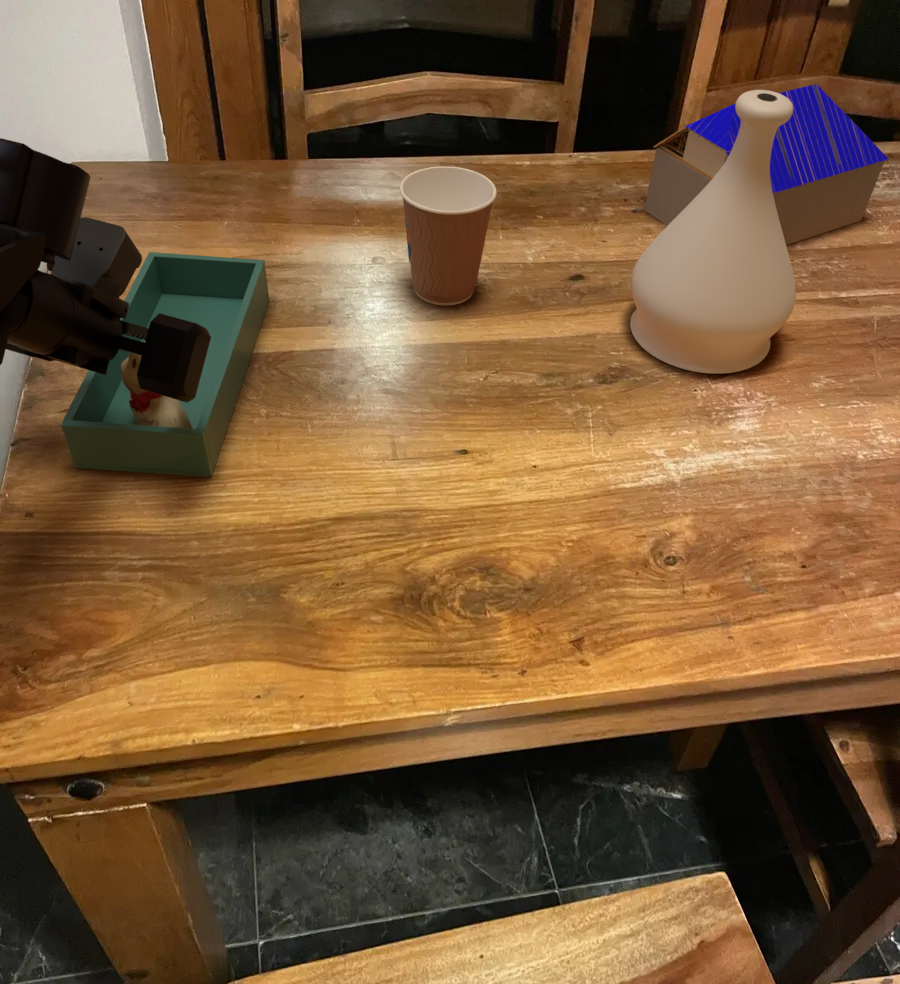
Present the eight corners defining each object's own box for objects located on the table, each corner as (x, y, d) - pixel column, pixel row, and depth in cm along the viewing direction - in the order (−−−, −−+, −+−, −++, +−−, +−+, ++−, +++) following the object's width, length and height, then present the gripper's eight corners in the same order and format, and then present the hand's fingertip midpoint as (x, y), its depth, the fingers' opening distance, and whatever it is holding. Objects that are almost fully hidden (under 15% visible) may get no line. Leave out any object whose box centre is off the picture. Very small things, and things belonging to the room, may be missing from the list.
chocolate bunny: (191, 404, 92) (173, 315, 84) (196, 456, 87) (177, 366, 79) (133, 410, 91) (109, 320, 83) (135, 463, 86) (109, 373, 78)
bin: (211, 477, 86) (202, 435, 82) (74, 468, 86) (60, 424, 82) (269, 300, 105) (264, 259, 101) (157, 293, 105) (149, 251, 101)
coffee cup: (431, 257, 113) (434, 156, 104) (504, 284, 109) (514, 183, 100) (381, 294, 107) (380, 192, 98) (457, 325, 104) (463, 221, 94)
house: (723, 266, 114) (762, 135, 102) (640, 209, 123) (667, 81, 111) (864, 221, 123) (914, 95, 112) (777, 170, 132) (815, 48, 120)
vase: (766, 296, 110) (844, 68, 91) (789, 386, 99) (882, 146, 80) (619, 284, 111) (666, 53, 92) (625, 371, 99) (679, 129, 80)
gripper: (177, 234, 67) (267, 295, 82) (-38, 179, 71) (86, 247, 86) (137, 385, 68) (233, 418, 83) (-72, 323, 72) (56, 366, 87)
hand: (151, 358), depth 85 cm, fingers open, 8 cm apart
